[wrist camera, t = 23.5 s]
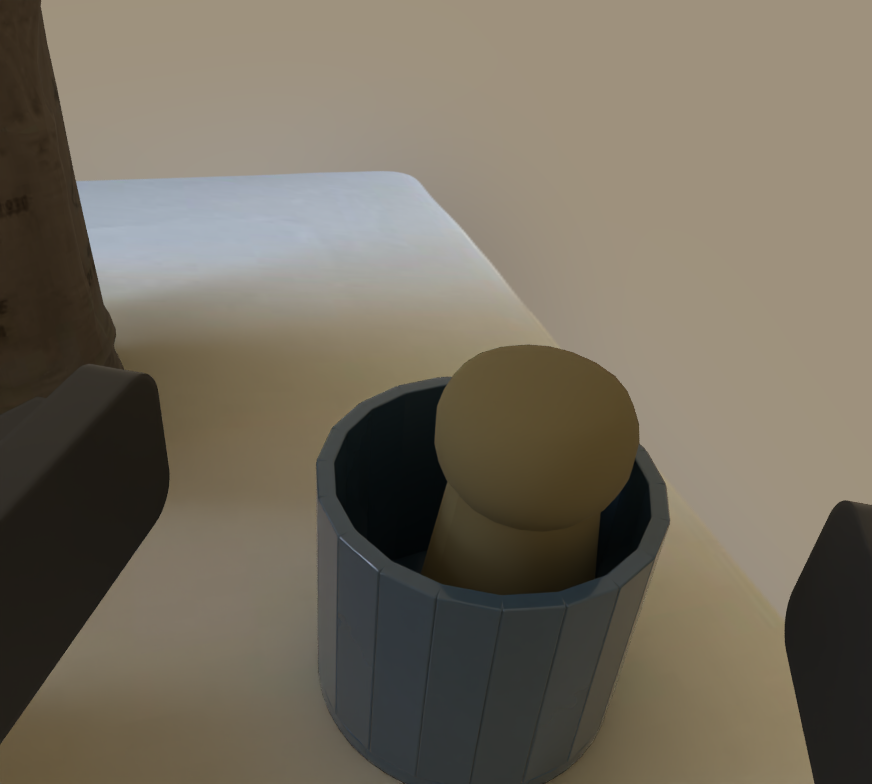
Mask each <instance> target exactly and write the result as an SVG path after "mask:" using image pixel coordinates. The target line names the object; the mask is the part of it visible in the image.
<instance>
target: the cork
mask: <svg viewBox="0 0 872 784" xmlns="http://www.w3.org/2000/svg"><path fill="white" fill-rule="evenodd" d="M434 444H435V448H436V453H437V457H438V462H439V464H440V466H441V469H442V471H443V473H444V475H445V478H446V480H447V485H446V488H445V491H444V495H443V498H442V502H441V505H440V509H439V512H438V516H437V519H436V523H435V526H434V529H433V533H432V536H431V540H430V543H429V547H428V550H427V554H426V557H425V561H424V564H423V567H422V571H421V574H422V575H424V576H426V577H428V578H431V579H433V580H435V581H437V582H439V583H442V584H445V585H451V586H456V587H461V588H467V589H472V590H477V591H483V592H488V593H493V594H499V595H509V594H526V593H543V592H559V591H561V590H564V589H567V588H570V587H573V586H576V585H578V584H581V583H584V582H587V581H590V580H593V579H595V573H596V561H597V549H598V538H599V526H600V514H601V512H602V511H603V510H605V509H606V507H607V506H608V505H609V504H610V503H611V502H612V501H613V500H614V499H615V498H616V497H617V496H618V495H619V493H620V492H621V490H622V489H623V487H624V486H625V484H626V483H627V481H628V480H629V477H630V474H631V471H632V468H633V464H634V461H635V457H636V453H637V449H638V446H639V423H638V419H637V416H636V412H635V409H634V406H633V403H632V401H631V399H630V396H629V394H628V392H627V390H626V389H625V388H624V386H623V385H622V384H621V383H620V382H619V380H618V379H617V378H616V377H615V376H614V375H613V374H611V373H610V372H608V371H607V370H606V369H604V368H603V367H601V366H600V365H598V364H597V363H595V362H593V361H591V360H589V359H587V358H584V357H582V356H580V355H577V354H575V353H573V352H569V351H566V350H562V349H558V348H554V347H549V346H538V345H518V346H506V347H499V348H496V349H493V350H489V351H486V352H482V353H480V354H478V355H477V356H475V357H473V358H472V359H470V360H469V361H467V362H466V363H464V364H463V365H462V367H461V368H460V369H459V370H458V371H457V372H456V373H455V374H454V375H453V377H452V378H451V380H450V381H449V382H448V384H447V385H446V387H445V388H444V390H443V393H442V395H441V398H440V400H439V403H438V405H437V413H436V427H435V442H434Z"/></svg>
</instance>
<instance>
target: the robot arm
mask: <svg viewBox="0 0 872 784" xmlns="http://www.w3.org/2000/svg"><path fill="white" fill-rule="evenodd" d="M168 488H169V465H168V458H167V451H166V444H165V437H164V430H163V423H162V416H161V409H160V402H159V395H158V389H157V385H156V383H155V381H154V379H153V378H152V377H151V376H150V375H148V374H144V373H139V372H133V371H127V370H122V369H116V368H111V367H105V366H99V365H94V364H86V365H83V366H81V367H79V368H78V369H77V370H76V371H74V372H73V373H72V374H71V375H70V376H69V377H68V378H67V379H66V380H65V381H64V382H63V383H62V384H61V385H59V386H58V387H57V388H56V389H55V390H54V391H53V392H52V393H51V394H50V395H49V396H48V397H47V398H43V397H35V398H33V399H31V400H29V401H27V402H25V403H23V404H21V405H19V406H17V407H15V408H13V409H11V410H9V411H7V412H5V413H3V414H1V415H0V744H1V743H2V741H3V740H4V738H5V737H6V735H7V734H8V733H9V731H10V730H11V728H12V727H13V725H14V724H15V723H16V721H17V720H18V718H19V717H20V715H21V714H22V713H23V711H24V710H25V708H26V707H27V705H28V704H29V703H30V701H31V700H32V698H33V697H34V696H35V694H36V693H37V691H38V690H39V688H40V687H41V686H42V684H43V683H44V681H45V680H46V678H47V677H48V676H49V674H50V673H51V671H52V670H53V668H54V667H55V666H56V664H57V663H58V661H59V660H60V658H61V657H62V656H63V654H64V653H65V651H66V650H67V648H68V647H69V646H70V644H71V643H72V641H73V640H74V638H75V637H76V636H77V634H78V633H79V631H80V630H81V628H82V627H83V626H84V624H85V623H86V621H87V620H88V619H89V617H90V616H91V614H92V613H93V611H94V610H95V609H96V607H97V606H98V604H99V603H100V601H101V600H102V599H103V597H104V596H105V594H106V593H107V591H108V590H109V589H110V587H111V586H112V584H113V583H114V581H115V580H116V579H117V577H118V576H119V574H120V573H121V571H122V570H123V569H124V567H125V566H126V564H127V563H128V561H129V560H130V559H131V557H132V556H133V554H134V553H135V551H136V550H137V549H138V547H139V546H140V544H141V543H142V541H143V540H144V539H145V537H146V536H147V534H148V533H149V532H150V530H151V529H152V527H153V526H154V524H155V523H156V521H157V520H158V518H159V516H160V514H161V512H162V510H163V507H164V504H165V501H166V498H167V494H168ZM785 646H786V652H787V657H788V662H789V666H790V671H791V676H792V680H793V685H794V690H795V694H796V699H797V704H798V708H799V713H800V718H801V722H802V727H803V732H804V736H805V741H806V746H807V750H808V755H809V760H810V764H811V769H812V774H813V778H814V783H815V784H872V505H868V504H863V503H857V502H851V501H841V502H839V503H838V504H837V505H836V506H835V507H834V508H833V510H832V511H831V513H830V515H829V517H828V519H827V521H826V523H825V525H824V527H823V529H822V531H821V533H820V535H819V537H818V540H817V542H816V544H815V546H814V548H813V550H812V552H811V554H810V556H809V558H808V560H807V562H806V564H805V566H804V568H803V571H802V573H801V575H800V577H799V579H798V581H797V583H796V585H795V587H794V589H793V591H792V594H791V596H790V600H789V602H788V607H787V611H786V618H785Z"/></svg>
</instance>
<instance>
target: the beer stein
mask: <svg viewBox="0 0 872 784" xmlns="http://www.w3.org/2000/svg"><path fill="white" fill-rule="evenodd" d="M40 6H41V0H0V415H1V414H3V413H5V412H7V411H9V410H11V409H13V408H15V407H17V406H19V405H21V404H23V403H25V402H27V401H29V400H31V399H33V398H35V397H43V398H47V397H48V396H49V395H50V394H51V393H52V392H53V391H54V390H55V389H56V388H57V387H58V386H59V385H61V384H62V383H63V382H64V381H65V380H66V379H67V378H68V377H69V376H70V375H71V374H72V373H73V372H74V371H76V370H77V369H78V368H79V367H81V366H83V365H86V364H94V365H99V366H105V367H111V368H116V369H122V370H124V368H123V366H122V363H121V361H120V359H119V357H118V355H117V353H116V351H115V349H114V342H115V338H116V329H115V326H114V324H113V322H112V319H111V317H110V314H109V312H108V311H107V309H106V308H105V306H104V304H103V299H102V295H101V291H100V286H99V282H98V278H97V273H96V269H95V264H94V260H93V256H92V251H91V247H90V243H89V238H88V234H87V230H86V225H85V221H84V216H83V212H82V207H81V203H80V198H79V194H78V189H77V184H76V180H75V175H74V171H73V166H72V161H71V156H70V151H69V146H68V141H67V136H66V131H65V126H64V121H63V116H62V111H61V106H60V101H59V96H58V91H57V86H56V82H55V77H54V72H53V68H52V63H51V59H50V54H49V50H48V45H47V40H46V34H45V29H44V23H43V17H42V11H41V7H40Z"/></svg>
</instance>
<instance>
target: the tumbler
mask: <svg viewBox="0 0 872 784" xmlns="http://www.w3.org/2000/svg"><path fill="white" fill-rule="evenodd" d="M451 378H452V377H441V378H440V377H438V378H433V379H428V380H423V381H418V382H413V383H409V384H404V385H399V386H398V387H397V386H396V387H394V388H391V389H389V390H387V391H385V392H383V393H381V394H378V395H376V396H374V397H372V398H370V399H367V400H365V401H363V402H361V403H359V404H358V405H357V406H356V407H355V408H354V409H352V410H351V411H350V412H349V413H348V414H347V415H346V416H345V417H343V418H342V419H341V420H340V421H339V422H338V423H337V424H336V425H335V426H333V428H332V429H331V431H330V433H329V435H328V437H327V439H326V442H325V444H324V446H323V448H322V450H321V452H320V454H319V456H318V458H317V462H316V513H317V640H318V673H319V681H320V685H321V690H322V694H323V697H324V700H325V702H326V705H327V707H328V710H329V712H330V714H331V716H332V718H333V720H334V721H335V723H336V725H337V726H338V728H339V730H340V731H341V732H342V733H343V735H344V736H345V737H346V739H347V740H348V741H349V742H350V744H351V745H352V746H353V747H354V748H355V749H356V750H357V751H358V752H359V753H361V754H362V755H363V756H364V757H365V758H366V759H367V760H368V761H370V762H371V763H372V764H374V765H375V766H376V767H378V768H379V769H381V770H382V771H383V772H385V773H387V774H389V775H390V776H392V777H394V778H396V779H398V780H400V781H401V782H403V783H406V784H543V783H546V782H548V781H550V780H551V779H553V778H554V777H556V776H558V775H559V774H561V773H562V772H564V771H565V770H567V769H568V768H569V767H570V766H571V765H572V764H573V763H575V762H576V761H577V760H578V759H579V758H580V757H581V756H582V755H583V753H584V752H585V751H586V750H587V748H588V747H589V746H590V745H591V743H592V742H593V740H594V738H595V736H596V735H597V733H598V731H599V730H600V727H601V724H602V722H603V719H604V716H605V714H606V711H607V708H608V706H609V703H610V701H611V698H612V696H613V693H614V690H615V687H616V684H617V681H618V678H619V675H620V672H621V669H622V666H623V663H624V660H625V657H626V654H627V651H628V648H629V645H630V642H631V639H632V636H633V633H634V630H635V627H636V624H637V621H638V618H639V615H640V612H641V609H642V606H643V603H644V600H645V597H646V594H647V591H648V588H649V585H650V582H651V579H652V576H653V573H654V570H655V567H656V564H657V561H658V558H659V555H660V552H661V549H662V546H663V543H664V540H665V537H666V534H667V531H668V528H669V525H670V516H669V507H668V497H667V488H666V485H665V482H664V480H663V478H662V477H661V475H660V473H659V471H658V470H657V468H656V466H655V464H654V463H653V461H652V459H651V457H650V455H649V454H648V452H647V451H646V450H645V448H644V447H642V446H641V445H640V444H639V446H638V449H637V453H636V457H635V461H634V464H633V468H632V471H631V474H630V477H629V480H628V481H627V483H626V484H625V486H624V487H623V489H622V490H621V492H620V493H619V495H618V496H617V497H616V498H615V499H614V500H613V501H612V502H611V503H610V504H609V505H608V506H607V507H606V509H605V510H603V511H602V512H601V514H600V526H599V538H598V549H597V561H596V573H595V579H593V580H590V581H587V582H584V583H581V584H578V585H576V586H573V587H570V588H567V589H564V590H561V591H559V592H543V593H526V594H509V595H499V594H493V593H488V592H483V591H477V590H472V589H467V588H461V587H456V586H451V585H445V584H442V583H439V582H437V581H435V580H433V579H431V578H428V577H426V576H424V575H422V574H421V571H422V567H423V564H424V561H425V557H426V554H427V550H428V547H429V543H430V540H431V536H432V533H433V529H434V526H435V523H436V519H437V516H438V512H439V509H440V505H441V502H442V498H443V495H444V491H445V488H446V485H447V480H446V478H445V475H444V473H443V471H442V469H441V466H440V464H439V462H438V457H437V453H436V448H435V444H434V442H435V427H436V413H437V405H438V403H439V400H440V398H441V395H442V393H443V390H444V388H445V387H446V385H447V384H448V382H449V381H450V380H451Z"/></svg>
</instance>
